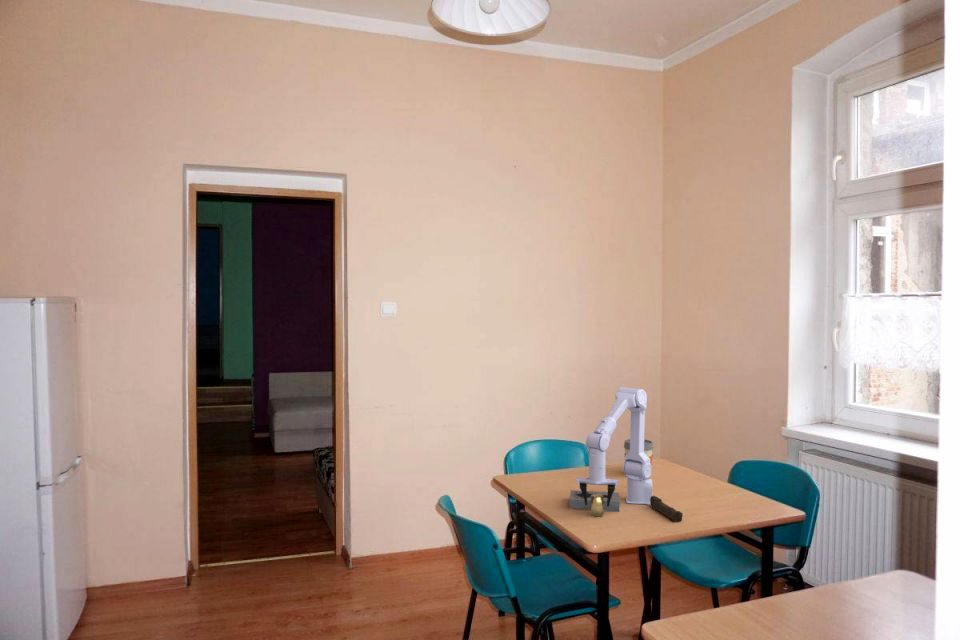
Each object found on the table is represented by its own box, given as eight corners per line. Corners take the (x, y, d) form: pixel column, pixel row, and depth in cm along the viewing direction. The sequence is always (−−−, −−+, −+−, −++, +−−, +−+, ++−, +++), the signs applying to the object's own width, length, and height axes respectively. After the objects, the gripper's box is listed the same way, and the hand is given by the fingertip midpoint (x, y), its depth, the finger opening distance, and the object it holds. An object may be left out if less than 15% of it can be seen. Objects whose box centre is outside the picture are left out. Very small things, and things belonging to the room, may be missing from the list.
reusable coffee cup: (647, 471, 290) (647, 438, 290) (657, 478, 278) (657, 444, 277) (620, 472, 289) (620, 438, 289) (628, 479, 277) (628, 444, 276)
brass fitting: (603, 513, 230) (603, 494, 230) (603, 517, 226) (603, 498, 226) (590, 513, 231) (590, 493, 231) (590, 517, 227) (590, 497, 227)
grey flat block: (618, 501, 245) (618, 492, 245) (619, 511, 233) (619, 501, 233) (570, 499, 248) (570, 490, 248) (569, 508, 236) (569, 499, 236)
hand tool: (683, 522, 222) (683, 509, 222) (672, 523, 221) (672, 510, 221) (657, 506, 240) (657, 494, 240) (647, 506, 240) (647, 494, 239)
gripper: (576, 468, 226) (576, 507, 226) (618, 470, 223) (618, 509, 223) (577, 464, 233) (576, 501, 233) (617, 466, 230) (617, 503, 230)
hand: (597, 505), depth 228 cm, fingers open, 7 cm apart
